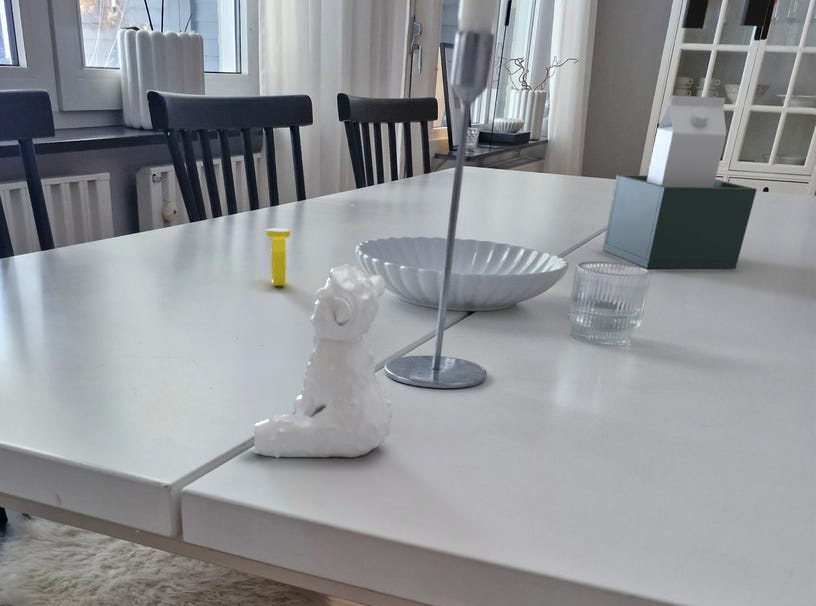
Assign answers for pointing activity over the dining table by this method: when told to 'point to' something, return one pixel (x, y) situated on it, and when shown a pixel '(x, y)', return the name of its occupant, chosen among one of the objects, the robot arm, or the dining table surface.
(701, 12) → the robot arm
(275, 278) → the yellow capped post
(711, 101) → the milk carton
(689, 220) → the box
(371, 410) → the white creature statuette
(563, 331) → the dining table surface
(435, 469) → the dining table surface
